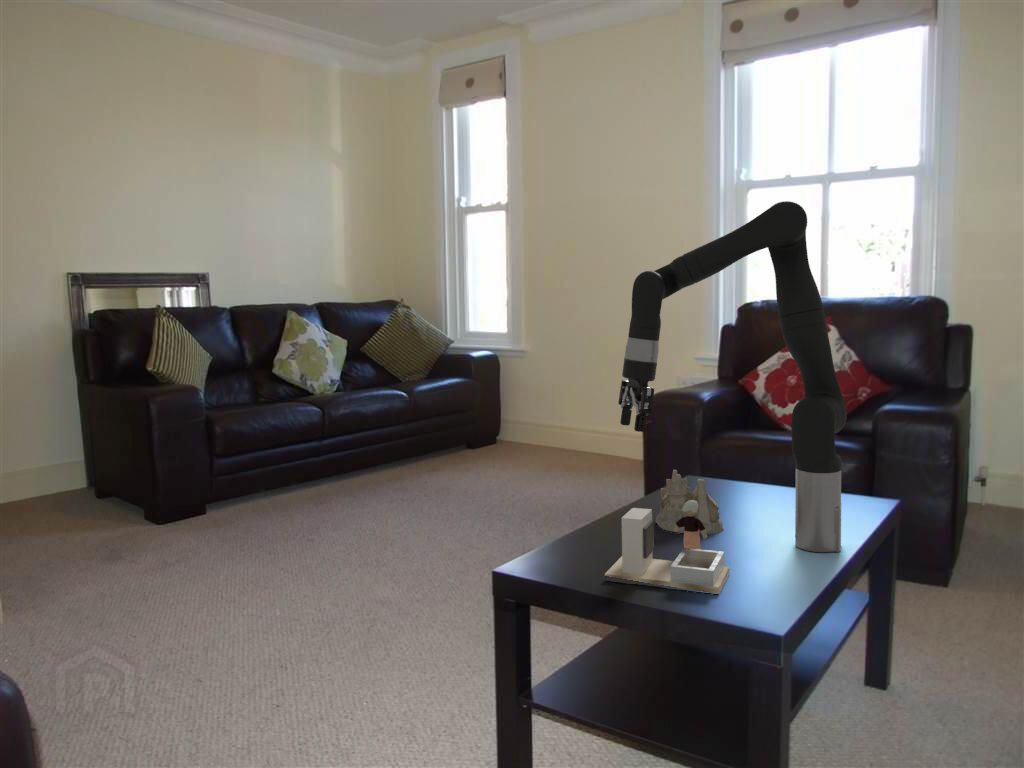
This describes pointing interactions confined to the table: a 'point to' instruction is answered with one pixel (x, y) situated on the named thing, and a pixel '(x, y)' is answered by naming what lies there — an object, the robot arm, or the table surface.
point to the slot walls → (694, 574)
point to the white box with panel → (637, 540)
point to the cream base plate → (666, 576)
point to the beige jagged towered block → (676, 499)
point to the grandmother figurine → (691, 526)
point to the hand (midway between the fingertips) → (631, 428)
